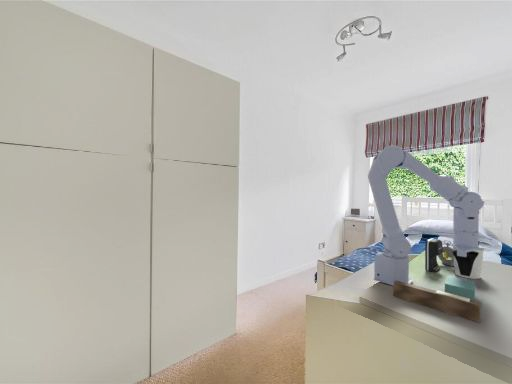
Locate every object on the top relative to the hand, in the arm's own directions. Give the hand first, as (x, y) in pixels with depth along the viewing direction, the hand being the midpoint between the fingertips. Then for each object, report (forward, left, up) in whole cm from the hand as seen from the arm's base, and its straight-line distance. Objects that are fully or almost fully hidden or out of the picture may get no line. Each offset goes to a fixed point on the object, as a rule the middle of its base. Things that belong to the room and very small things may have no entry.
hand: (465, 275), depth 72 cm
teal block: (0, -9, -4) cm, 10 cm away
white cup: (-1, +14, -4) cm, 15 cm away
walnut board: (-4, -20, -4) cm, 21 cm away
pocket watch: (-7, +23, -4) cm, 24 cm away
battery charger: (-10, +12, -4) cm, 16 cm away
